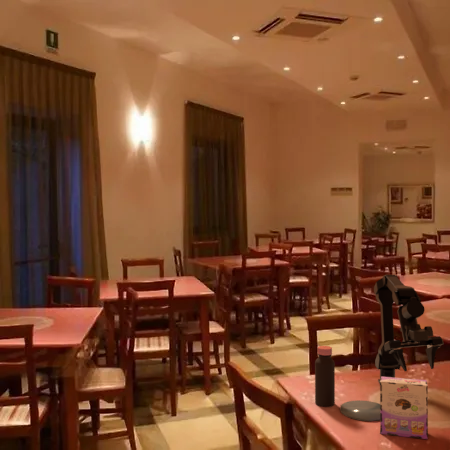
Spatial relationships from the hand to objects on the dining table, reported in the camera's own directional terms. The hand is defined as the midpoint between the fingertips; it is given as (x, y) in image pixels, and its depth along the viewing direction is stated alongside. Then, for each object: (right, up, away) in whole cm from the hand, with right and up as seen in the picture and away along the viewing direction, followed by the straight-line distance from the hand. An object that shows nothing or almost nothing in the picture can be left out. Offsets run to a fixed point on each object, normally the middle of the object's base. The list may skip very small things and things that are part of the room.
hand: (419, 370), depth 177 cm
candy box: (-10, -16, -14) cm, 23 cm away
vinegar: (-29, -15, +12) cm, 35 cm away
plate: (-17, -15, +4) cm, 23 cm away
